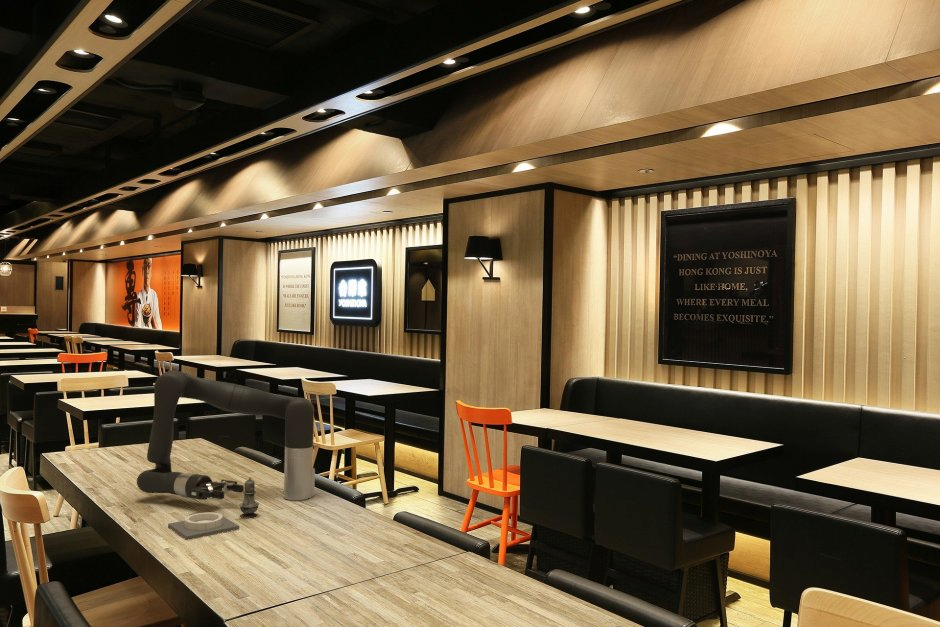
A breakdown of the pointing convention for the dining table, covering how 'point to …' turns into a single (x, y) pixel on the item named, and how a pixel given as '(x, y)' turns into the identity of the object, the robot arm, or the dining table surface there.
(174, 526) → the tray
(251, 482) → the salt shaker
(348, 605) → the dining table surface
